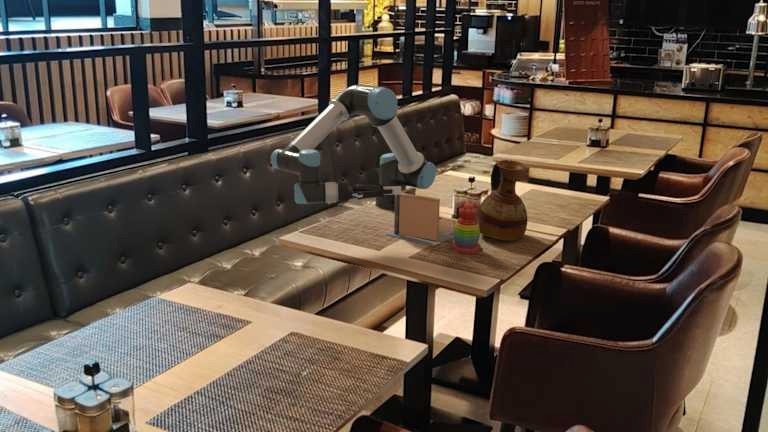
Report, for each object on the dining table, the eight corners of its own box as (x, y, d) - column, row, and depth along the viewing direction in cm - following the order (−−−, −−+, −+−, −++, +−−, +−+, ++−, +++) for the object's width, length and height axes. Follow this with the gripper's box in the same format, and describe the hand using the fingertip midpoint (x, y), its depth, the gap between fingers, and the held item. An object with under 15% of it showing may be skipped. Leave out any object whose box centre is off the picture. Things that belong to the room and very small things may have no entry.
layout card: (408, 225, 297) (408, 224, 297) (455, 237, 284) (455, 235, 284) (385, 234, 286) (385, 233, 286) (433, 246, 273) (433, 245, 273)
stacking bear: (480, 246, 275) (483, 199, 270) (481, 255, 265) (484, 207, 260) (451, 244, 276) (453, 198, 271) (451, 253, 266) (453, 206, 261)
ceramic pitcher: (492, 247, 273) (497, 168, 265) (465, 231, 291) (468, 157, 282) (536, 241, 281) (542, 164, 273) (507, 226, 299) (512, 153, 290)
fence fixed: (410, 226, 295) (411, 187, 290) (415, 227, 294) (416, 188, 289) (393, 233, 286) (394, 193, 281) (397, 234, 285) (398, 194, 280)
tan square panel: (398, 233, 285) (399, 194, 280) (401, 232, 286) (401, 192, 282) (436, 240, 277) (437, 200, 273) (438, 239, 279) (440, 199, 274)
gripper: (335, 197, 277) (398, 195, 280) (338, 207, 265) (403, 205, 268) (335, 177, 275) (398, 175, 278) (338, 187, 262) (403, 185, 265)
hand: (400, 190), depth 273 cm, fingers closed
